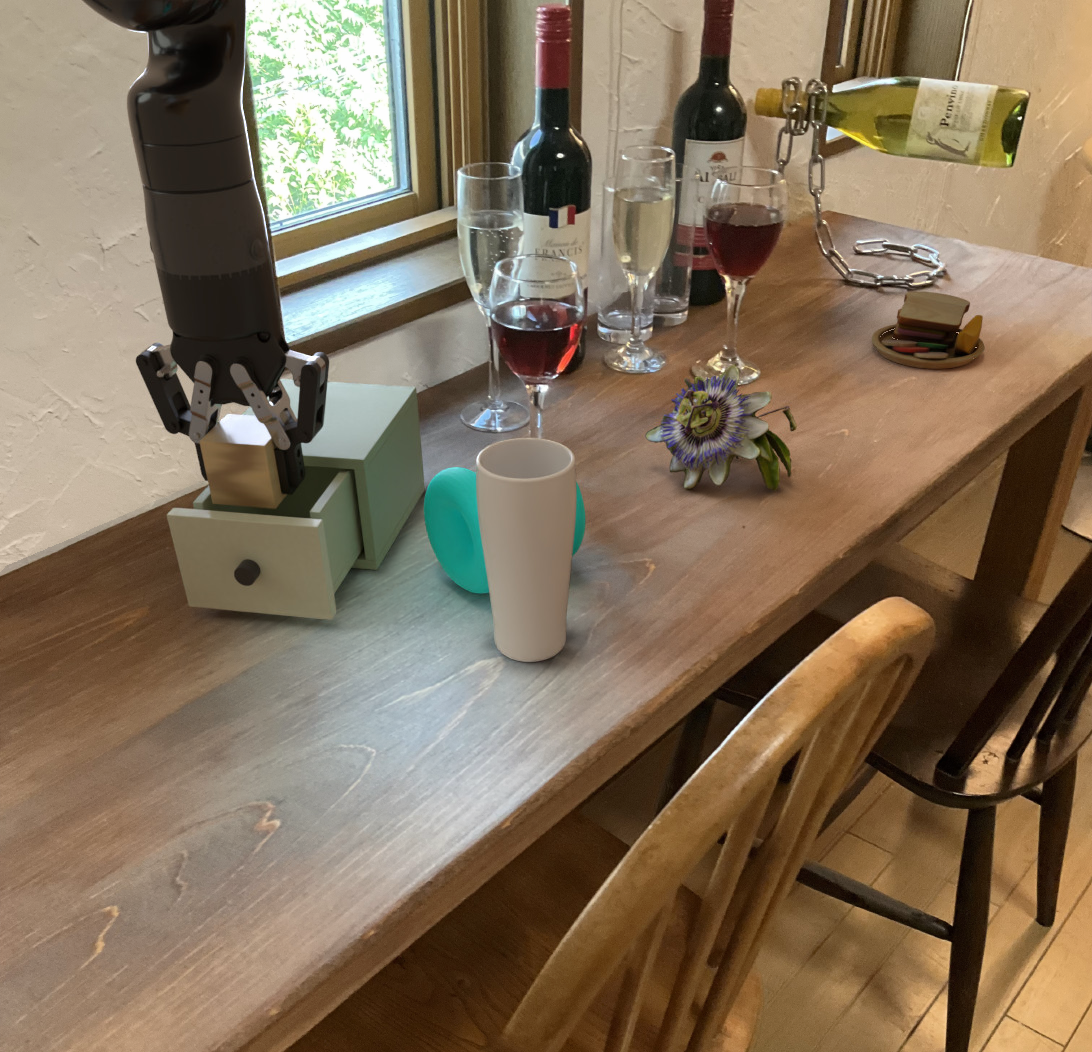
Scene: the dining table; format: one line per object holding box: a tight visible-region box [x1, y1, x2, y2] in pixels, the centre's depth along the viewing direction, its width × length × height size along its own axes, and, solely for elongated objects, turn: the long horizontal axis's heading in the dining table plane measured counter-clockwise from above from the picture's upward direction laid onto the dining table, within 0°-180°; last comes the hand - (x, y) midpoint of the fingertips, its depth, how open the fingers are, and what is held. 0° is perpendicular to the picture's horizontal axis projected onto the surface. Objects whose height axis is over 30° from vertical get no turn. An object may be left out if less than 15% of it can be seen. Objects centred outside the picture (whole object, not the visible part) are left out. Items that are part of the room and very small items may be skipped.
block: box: [200, 413, 287, 509], centre depth 84 cm, size 5×5×5 cm
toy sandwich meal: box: [871, 291, 986, 370], centre depth 129 cm, size 12×14×5 cm
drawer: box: [166, 466, 364, 621], centre depth 89 cm, size 15×12×8 cm
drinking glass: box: [475, 437, 577, 663], centre depth 79 cm, size 7×7×15 cm
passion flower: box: [644, 363, 798, 492], centre depth 104 cm, size 11×11×12 cm
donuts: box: [423, 466, 587, 595], centre depth 89 cm, size 10×10×10 cm
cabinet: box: [241, 378, 426, 571], centre depth 97 cm, size 15×13×10 cm
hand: (255, 486), depth 86 cm, fingers closed on block, 5 cm apart
